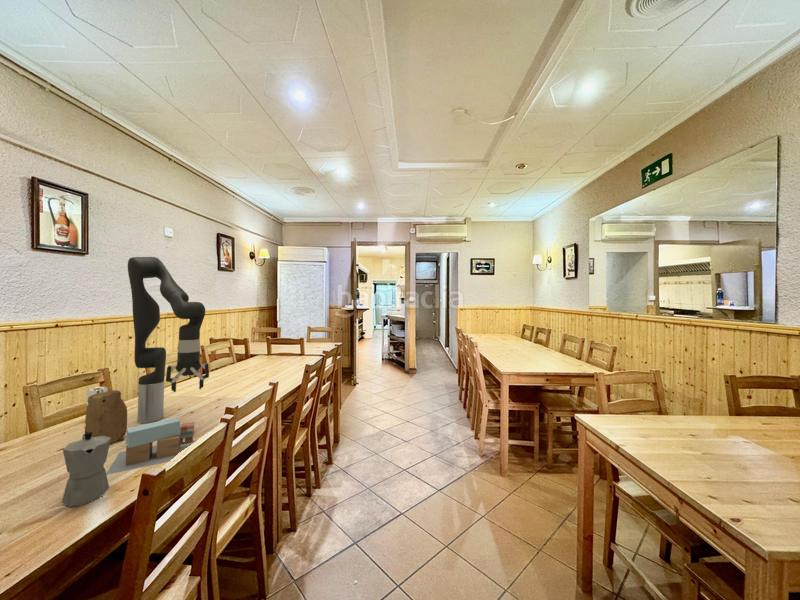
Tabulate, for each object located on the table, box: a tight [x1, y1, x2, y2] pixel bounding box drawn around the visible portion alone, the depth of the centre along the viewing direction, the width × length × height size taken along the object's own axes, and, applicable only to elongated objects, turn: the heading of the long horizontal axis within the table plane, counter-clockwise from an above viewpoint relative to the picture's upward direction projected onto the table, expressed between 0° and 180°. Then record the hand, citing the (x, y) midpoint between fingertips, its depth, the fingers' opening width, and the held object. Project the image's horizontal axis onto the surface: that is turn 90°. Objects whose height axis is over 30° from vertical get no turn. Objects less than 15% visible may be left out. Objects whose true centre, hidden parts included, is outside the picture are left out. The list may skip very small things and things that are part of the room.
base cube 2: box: [156, 435, 180, 459], centre depth 107 cm, size 6×6×6 cm
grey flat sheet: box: [106, 439, 190, 476], centre depth 106 cm, size 16×22×1 cm
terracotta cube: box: [180, 421, 195, 436], centre depth 121 cm, size 4×4×5 cm
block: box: [84, 389, 128, 446], centre depth 114 cm, size 11×8×20 cm
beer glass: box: [85, 386, 109, 407], centre depth 134 cm, size 7×7×15 cm
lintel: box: [125, 416, 181, 448], centre depth 105 cm, size 5×14×5 cm, turn 138°
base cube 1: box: [125, 442, 154, 465], centre depth 103 cm, size 6×6×6 cm
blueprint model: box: [180, 425, 196, 446], centre depth 114 cm, size 4×7×7 cm, turn 122°
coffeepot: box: [61, 432, 111, 508], centre depth 84 cm, size 15×9×18 cm, turn 49°
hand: (187, 390), depth 121 cm, fingers open, 8 cm apart
